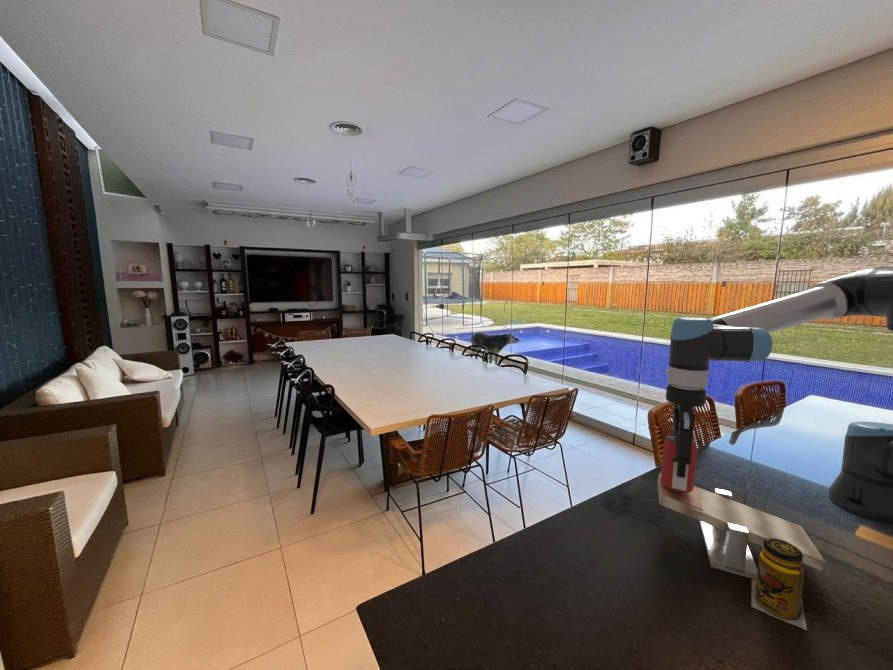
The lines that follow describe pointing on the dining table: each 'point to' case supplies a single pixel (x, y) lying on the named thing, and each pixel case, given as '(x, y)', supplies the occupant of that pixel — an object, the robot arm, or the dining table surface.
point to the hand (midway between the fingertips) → (677, 481)
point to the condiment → (780, 582)
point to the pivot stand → (729, 546)
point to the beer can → (668, 464)
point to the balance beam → (739, 519)
